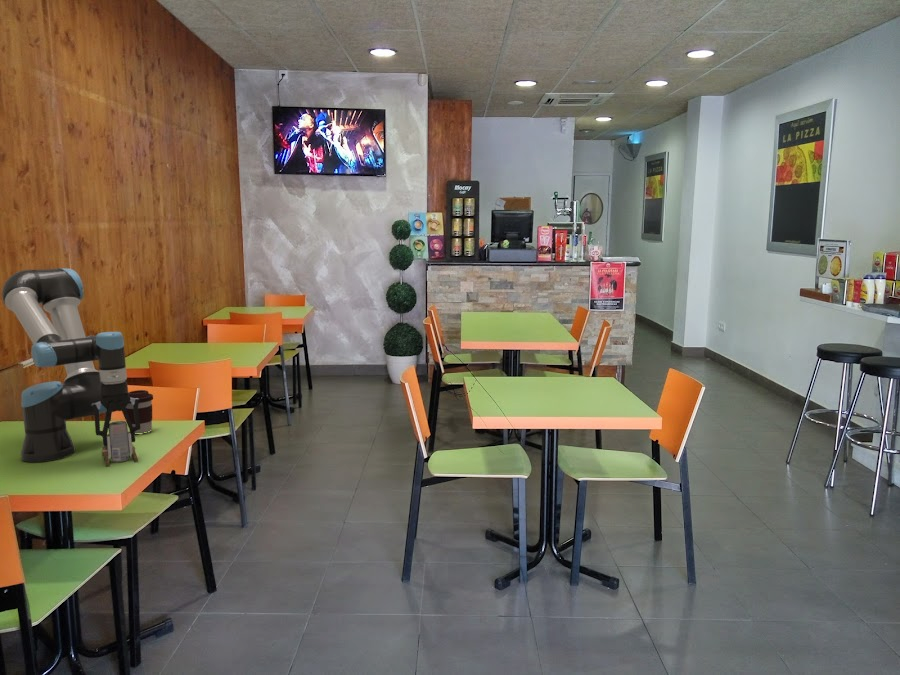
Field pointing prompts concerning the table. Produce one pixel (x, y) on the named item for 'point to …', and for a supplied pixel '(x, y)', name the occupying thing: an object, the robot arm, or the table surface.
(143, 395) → the coffee cup
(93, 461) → the table surface
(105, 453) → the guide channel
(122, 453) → the energy drink
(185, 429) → the table surface
